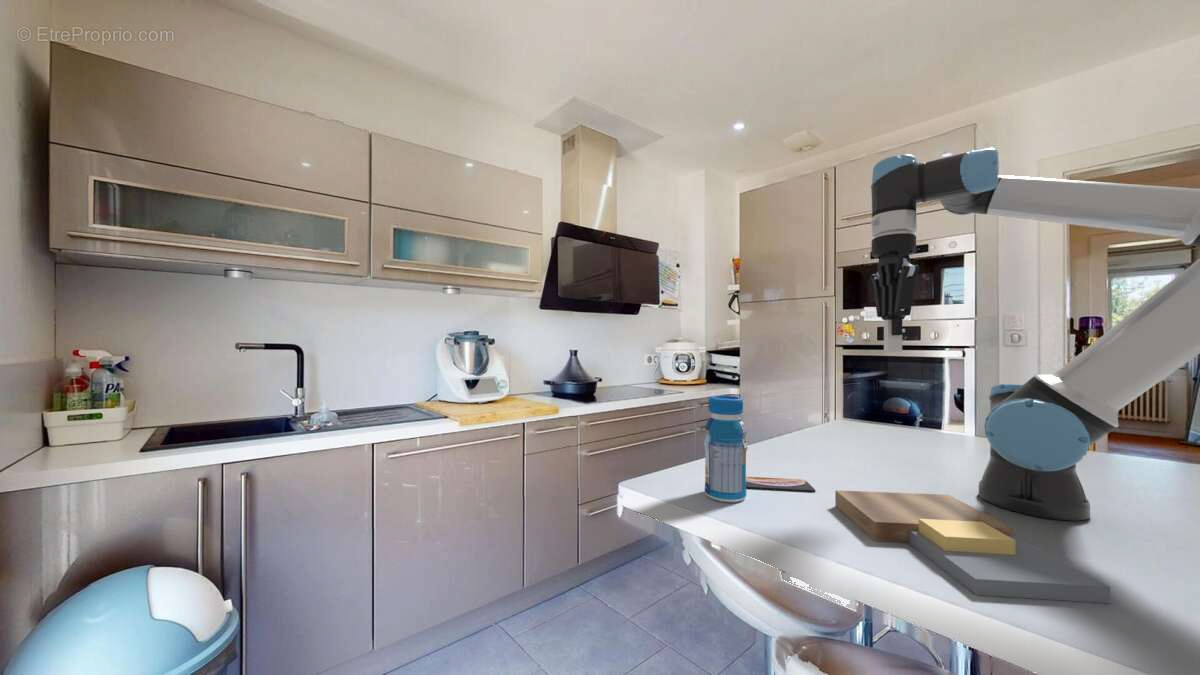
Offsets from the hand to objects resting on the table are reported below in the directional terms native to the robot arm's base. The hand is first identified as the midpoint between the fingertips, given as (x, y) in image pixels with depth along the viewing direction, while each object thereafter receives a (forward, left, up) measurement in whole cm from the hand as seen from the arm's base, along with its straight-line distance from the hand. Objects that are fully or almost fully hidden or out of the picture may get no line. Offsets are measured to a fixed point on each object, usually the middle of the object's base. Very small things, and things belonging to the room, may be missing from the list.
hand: (892, 351), depth 87 cm
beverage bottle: (+34, +4, -30) cm, 45 cm away
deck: (+4, +14, -29) cm, 33 cm away
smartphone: (+22, -4, -30) cm, 37 cm away
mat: (+2, +28, -29) cm, 41 cm away
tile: (+3, +25, -27) cm, 37 cm away
